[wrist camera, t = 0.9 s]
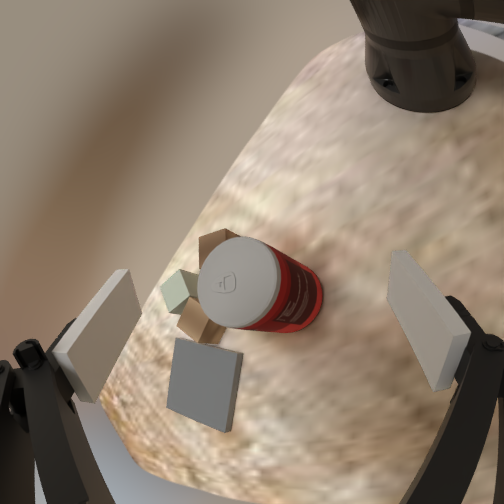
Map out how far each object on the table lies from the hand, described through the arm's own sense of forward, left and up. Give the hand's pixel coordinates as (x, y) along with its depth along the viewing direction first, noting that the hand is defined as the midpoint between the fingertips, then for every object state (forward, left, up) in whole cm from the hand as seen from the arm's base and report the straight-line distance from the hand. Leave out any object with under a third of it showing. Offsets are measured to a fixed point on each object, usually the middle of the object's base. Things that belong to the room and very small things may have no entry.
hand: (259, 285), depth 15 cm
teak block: (+3, -17, -19) cm, 26 cm away
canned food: (-1, -7, -19) cm, 21 cm away
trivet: (+11, -17, -19) cm, 28 cm away
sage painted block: (0, -21, -19) cm, 29 cm away
